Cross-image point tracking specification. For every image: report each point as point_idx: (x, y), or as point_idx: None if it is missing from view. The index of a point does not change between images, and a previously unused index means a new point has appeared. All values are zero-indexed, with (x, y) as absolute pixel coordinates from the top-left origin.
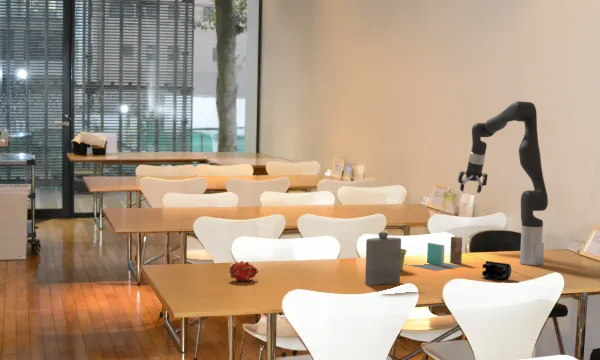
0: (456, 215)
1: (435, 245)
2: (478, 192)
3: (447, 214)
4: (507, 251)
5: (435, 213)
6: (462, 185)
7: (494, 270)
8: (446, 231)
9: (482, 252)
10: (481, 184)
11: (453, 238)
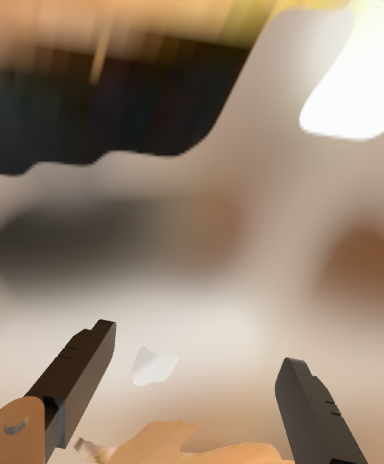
0: (82, 438)
1: None
2: (110, 322)
3: (93, 443)
4: (95, 18)
5: (108, 448)
6: (344, 448)
7: None
8: (154, 355)
9: (219, 3)
10: (4, 438)
11: None
